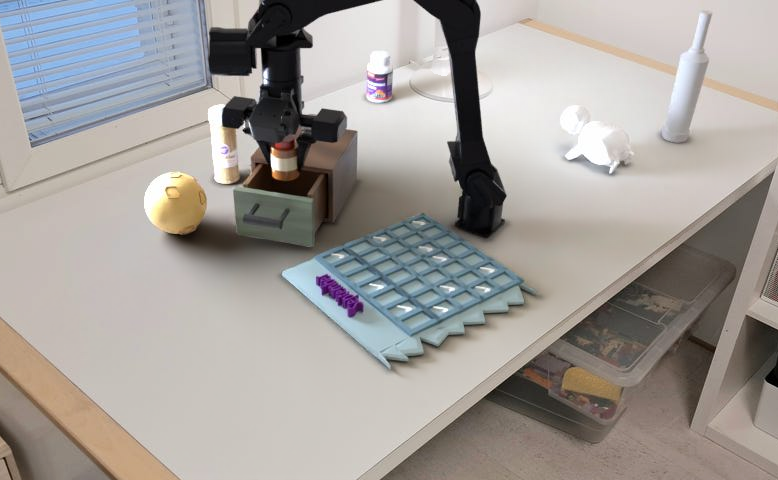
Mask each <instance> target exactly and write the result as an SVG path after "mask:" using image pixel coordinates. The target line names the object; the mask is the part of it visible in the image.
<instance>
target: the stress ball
mask: <svg viewBox="0 0 778 480" xmlns="http://www.w3.org/2000/svg"><path fill="white" fill-rule="evenodd" d="M146 189H147V190H146V192H145V194H144V195H145V196H144V209H145V213H146V215H147V217H148V219H149V221H150V222H151V223H152V224H153V225H154V226H155V227H156V228H158V229H159V230H161V231H163V232H164V233H169V234H173V235H174V234H175V235H177V234H178V235H179V234H180V235H181V236H184V235H187V234H190V233H192V232H194V231H196V230H197V229H198V228H197V227H198V226H199V224H201V222H202V221H203V219H204V217H205V215H206V212H207V207H208V199H207V194H206V192H205V190H204V188H203V187H202V185H201V183H199V180H198V179H197V178H195V177H194V176H193V175H188V174H187V173H184V172H181V171H172V172H167V173H164V174H162V175H160V176H158V177H157V178H155V179H153V181H152V182H151V183H150V185H149V186H148V188H146Z"/></svg>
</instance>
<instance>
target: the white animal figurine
mask: <svg viewBox="0 0 778 480" xmlns="http://www.w3.org/2000/svg"><path fill="white" fill-rule="evenodd" d="M590 120H591V113H590V112H589V110H588V108H587V107H586V106H584V105H583V104H572V105H569V106H567V107H566V108H565V109H564V111H563V112H562V114H561V115H560V125H561V127H562V128H563V129H564V130H566V131H567V132H568V133H569V134H570V135H578V134H579V136H578V138H577V139H578V140H577V145H575V146H574V147H572V148H571V149H570V150H569V151H568V152H567V153H566V154H565V155H564V156H565V158H566V159H567V160H568V161H570V160H573V159H576V158H578V157H580V156H582V155H583V156H584V157H585V158H586V159H587V160H588V161H590V163H592V164H595V165H599V166H605V167H607V168H609V171H608V172H609V173H608V174H611V175H612V173H614V171H615V170H616V169H617V167H618V166H619V165H620V163H621V162H620V161H624V166H627V165H628V163H629V162H630V161H631V159H632V157H633V156H635V152H634V151H632V146H631V142H630V137H629V134H628V133H627V131H626V130H625V129H624V128H622V127H620V126H617V125H615V124H613V123H609V122H606V121H603V120H593V121H590Z"/></svg>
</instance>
